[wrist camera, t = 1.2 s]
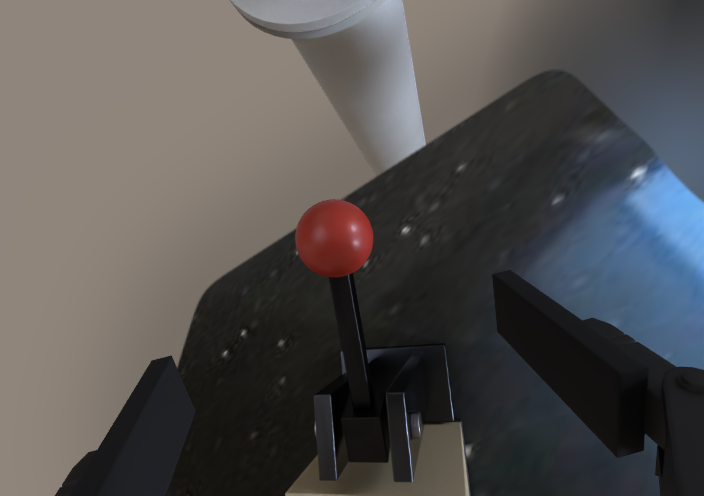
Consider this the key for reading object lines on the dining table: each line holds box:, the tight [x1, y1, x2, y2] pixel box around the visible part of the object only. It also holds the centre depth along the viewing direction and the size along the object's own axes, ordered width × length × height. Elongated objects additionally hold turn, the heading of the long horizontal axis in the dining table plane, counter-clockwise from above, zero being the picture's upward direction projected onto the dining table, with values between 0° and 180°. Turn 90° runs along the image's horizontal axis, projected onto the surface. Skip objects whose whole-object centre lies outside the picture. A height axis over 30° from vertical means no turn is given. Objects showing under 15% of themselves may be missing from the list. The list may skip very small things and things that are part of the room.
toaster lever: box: [295, 200, 390, 463], centre depth 21 cm, size 14×4×4 cm, turn 6°
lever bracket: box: [314, 343, 454, 482], centre depth 27 cm, size 6×9×14 cm, turn 95°
